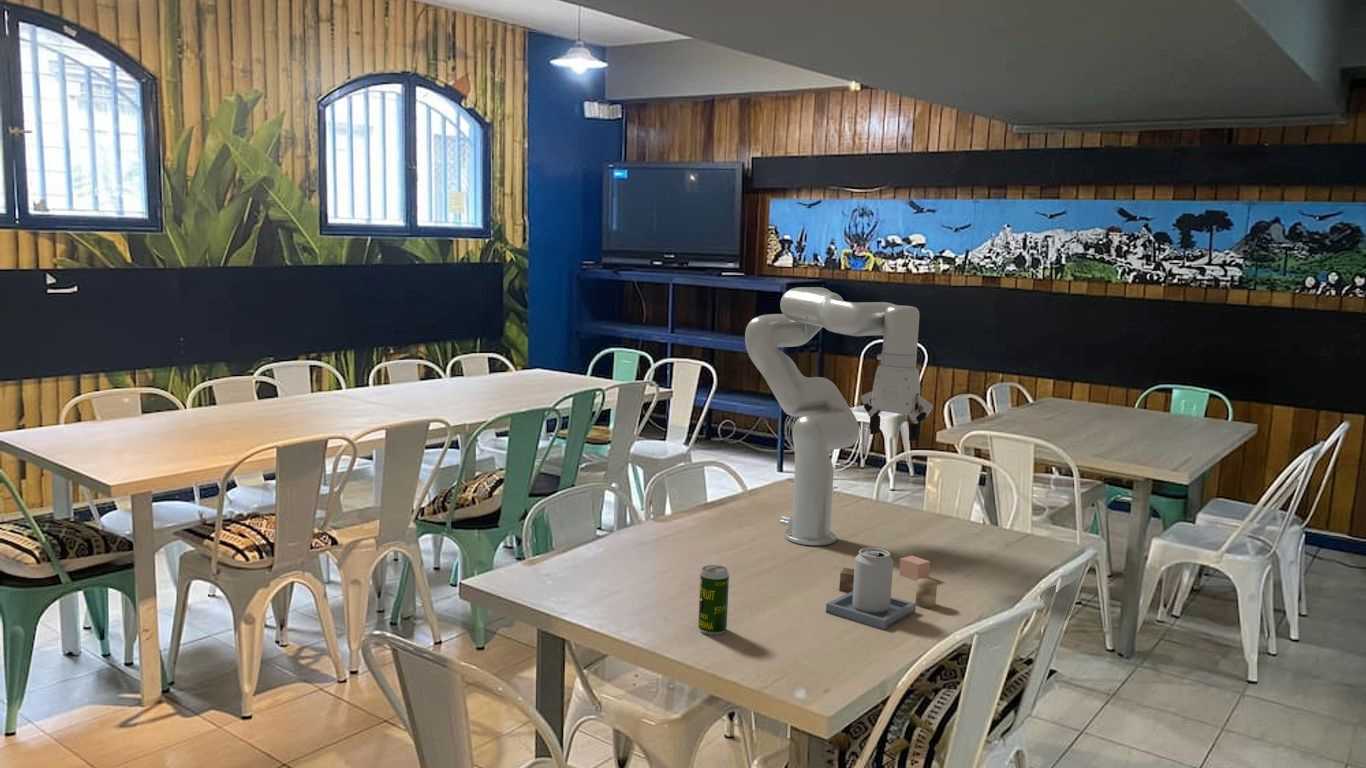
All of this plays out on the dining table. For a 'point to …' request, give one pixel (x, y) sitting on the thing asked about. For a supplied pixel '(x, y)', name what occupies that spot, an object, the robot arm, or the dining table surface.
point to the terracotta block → (914, 568)
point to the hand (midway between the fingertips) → (893, 436)
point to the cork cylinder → (926, 593)
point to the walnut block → (846, 580)
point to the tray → (882, 621)
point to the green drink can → (713, 600)
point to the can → (872, 581)
